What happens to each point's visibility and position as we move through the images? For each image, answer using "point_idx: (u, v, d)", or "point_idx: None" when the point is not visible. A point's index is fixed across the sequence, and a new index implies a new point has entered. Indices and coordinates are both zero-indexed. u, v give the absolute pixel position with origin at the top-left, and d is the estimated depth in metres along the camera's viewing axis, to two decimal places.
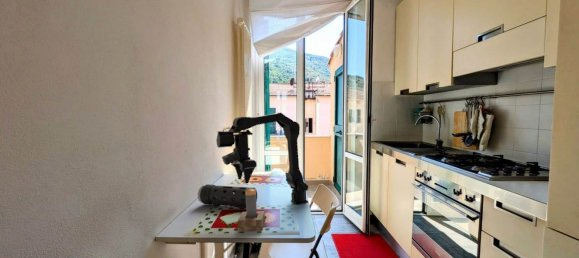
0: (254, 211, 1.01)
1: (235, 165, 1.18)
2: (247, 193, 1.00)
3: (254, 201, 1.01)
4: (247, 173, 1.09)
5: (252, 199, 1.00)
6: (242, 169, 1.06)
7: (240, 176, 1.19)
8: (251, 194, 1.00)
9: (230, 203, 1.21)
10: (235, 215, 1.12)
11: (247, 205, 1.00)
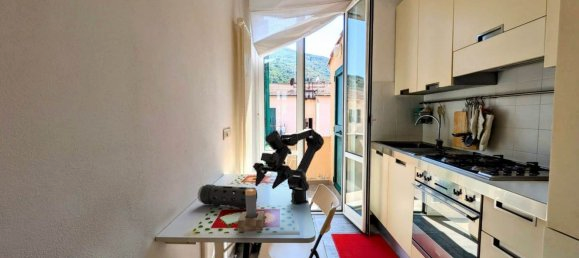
0: (254, 211, 1.01)
1: (260, 170, 1.14)
2: (247, 193, 1.00)
3: (254, 201, 1.01)
4: (279, 179, 1.07)
5: (252, 199, 1.00)
6: (282, 171, 1.05)
7: (258, 183, 1.12)
8: (251, 194, 1.00)
9: (230, 203, 1.21)
10: (235, 215, 1.12)
11: (247, 205, 1.00)
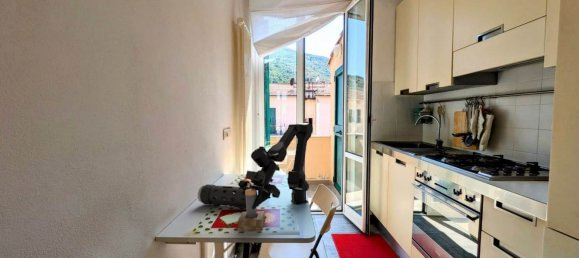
0: (254, 211, 1.01)
1: None
2: (247, 193, 1.00)
3: None
4: (260, 198, 1.01)
5: (252, 199, 1.00)
6: (263, 190, 1.00)
7: None
8: (251, 194, 1.00)
9: (230, 203, 1.21)
10: (235, 215, 1.12)
11: (247, 205, 1.00)
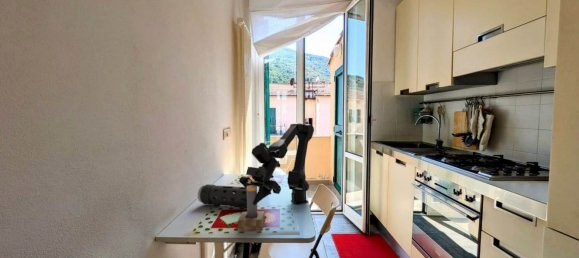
0: (255, 207, 1.01)
1: None
2: (249, 189, 1.01)
3: None
4: (261, 194, 1.02)
5: (253, 195, 1.01)
6: (264, 186, 1.00)
7: None
8: (253, 190, 1.01)
9: (230, 203, 1.21)
10: (235, 215, 1.12)
11: (248, 201, 1.01)
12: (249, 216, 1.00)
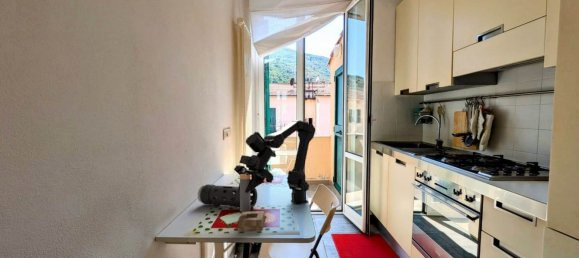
0: (248, 195, 1.02)
1: None
2: (241, 177, 1.02)
3: None
4: (253, 183, 1.02)
5: (246, 183, 1.01)
6: (256, 174, 1.01)
7: None
8: (245, 178, 1.01)
9: (230, 203, 1.21)
10: (235, 215, 1.12)
11: (241, 189, 1.02)
12: (242, 204, 1.01)
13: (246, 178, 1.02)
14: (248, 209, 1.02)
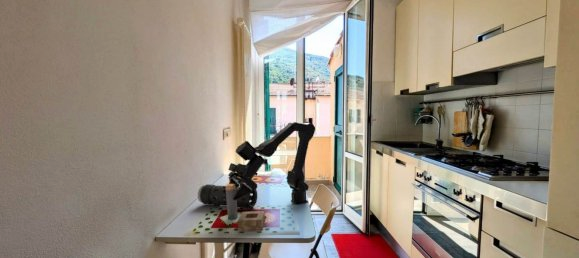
0: (233, 205, 1.07)
1: (232, 180, 1.15)
2: (226, 188, 1.07)
3: (233, 195, 1.07)
4: (241, 191, 1.06)
5: (230, 193, 1.07)
6: (242, 183, 1.04)
7: None
8: (229, 189, 1.07)
9: None
10: None
11: (227, 199, 1.08)
12: (228, 212, 1.08)
13: (230, 189, 1.07)
14: (234, 217, 1.08)
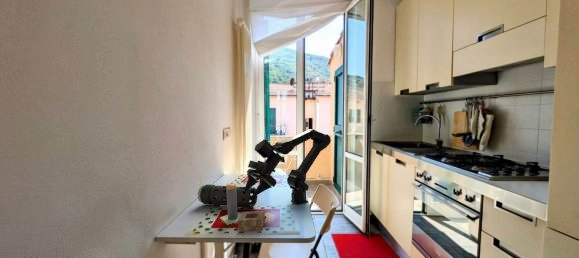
0: (233, 204, 1.08)
1: (250, 176, 1.20)
2: (227, 187, 1.08)
3: (233, 195, 1.08)
4: (261, 187, 1.11)
5: (231, 193, 1.07)
6: (263, 179, 1.09)
7: (247, 188, 1.18)
8: (230, 188, 1.07)
9: None
10: None
11: (227, 198, 1.08)
12: (228, 212, 1.08)
13: (231, 188, 1.07)
14: (234, 217, 1.08)
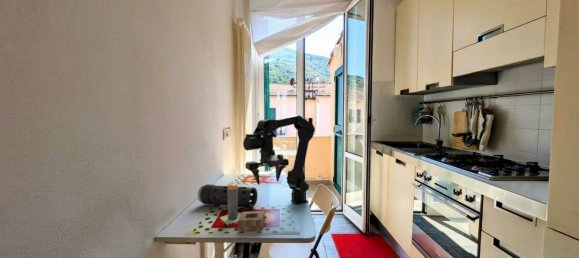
0: (233, 204, 1.08)
1: None
2: (228, 187, 1.08)
3: (234, 195, 1.07)
4: None
5: (231, 193, 1.07)
6: (285, 166, 1.17)
7: None
8: (231, 188, 1.07)
9: None
10: None
11: (228, 198, 1.08)
12: (228, 212, 1.08)
13: (232, 188, 1.07)
14: (234, 217, 1.08)
